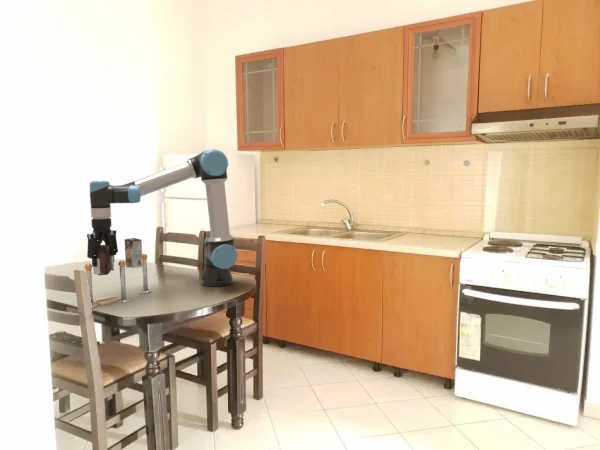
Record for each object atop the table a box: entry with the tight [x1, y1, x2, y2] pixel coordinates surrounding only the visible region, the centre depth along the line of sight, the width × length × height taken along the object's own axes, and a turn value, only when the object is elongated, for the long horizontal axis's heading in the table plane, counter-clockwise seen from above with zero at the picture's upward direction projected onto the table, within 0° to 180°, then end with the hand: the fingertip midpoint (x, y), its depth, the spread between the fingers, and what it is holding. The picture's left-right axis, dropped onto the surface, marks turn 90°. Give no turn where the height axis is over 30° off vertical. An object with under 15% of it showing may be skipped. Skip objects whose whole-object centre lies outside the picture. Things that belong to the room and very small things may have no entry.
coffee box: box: [124, 237, 143, 269], centre depth 257 cm, size 9×6×16 cm
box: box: [96, 244, 111, 276], centre depth 183 cm, size 6×4×12 cm
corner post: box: [117, 260, 131, 303], centre depth 186 cm, size 5×5×18 cm
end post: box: [84, 263, 98, 309], centre depth 177 cm, size 5×5×18 cm
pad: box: [93, 295, 121, 307], centre depth 185 cm, size 9×10×1 cm
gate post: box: [139, 253, 153, 294], centre depth 199 cm, size 5×5×18 cm
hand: (104, 272), depth 184 cm, fingers closed on box, 7 cm apart
